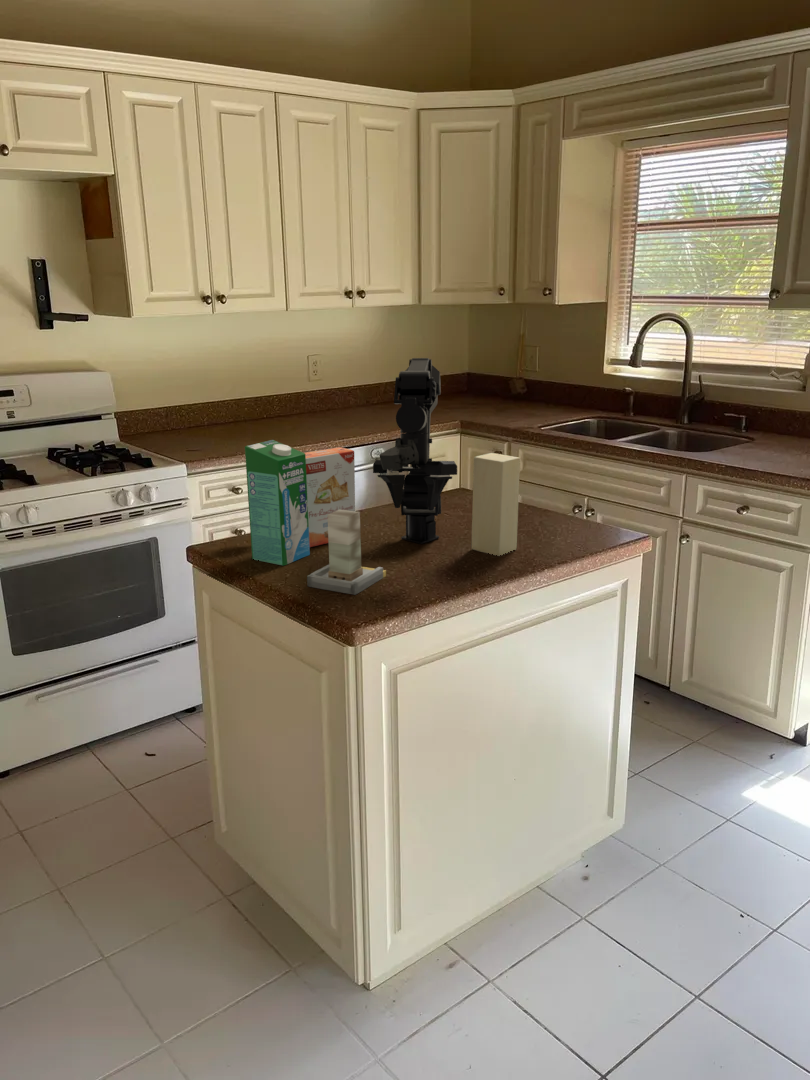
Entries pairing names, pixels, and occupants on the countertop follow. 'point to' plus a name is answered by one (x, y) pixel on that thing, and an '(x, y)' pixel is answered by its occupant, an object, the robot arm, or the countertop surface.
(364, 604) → the countertop surface
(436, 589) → the countertop surface
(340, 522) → the pale banded rectangular block
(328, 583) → the pad
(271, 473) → the milk carton
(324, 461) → the cracker box
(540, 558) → the countertop surface
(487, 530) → the tall cream block
